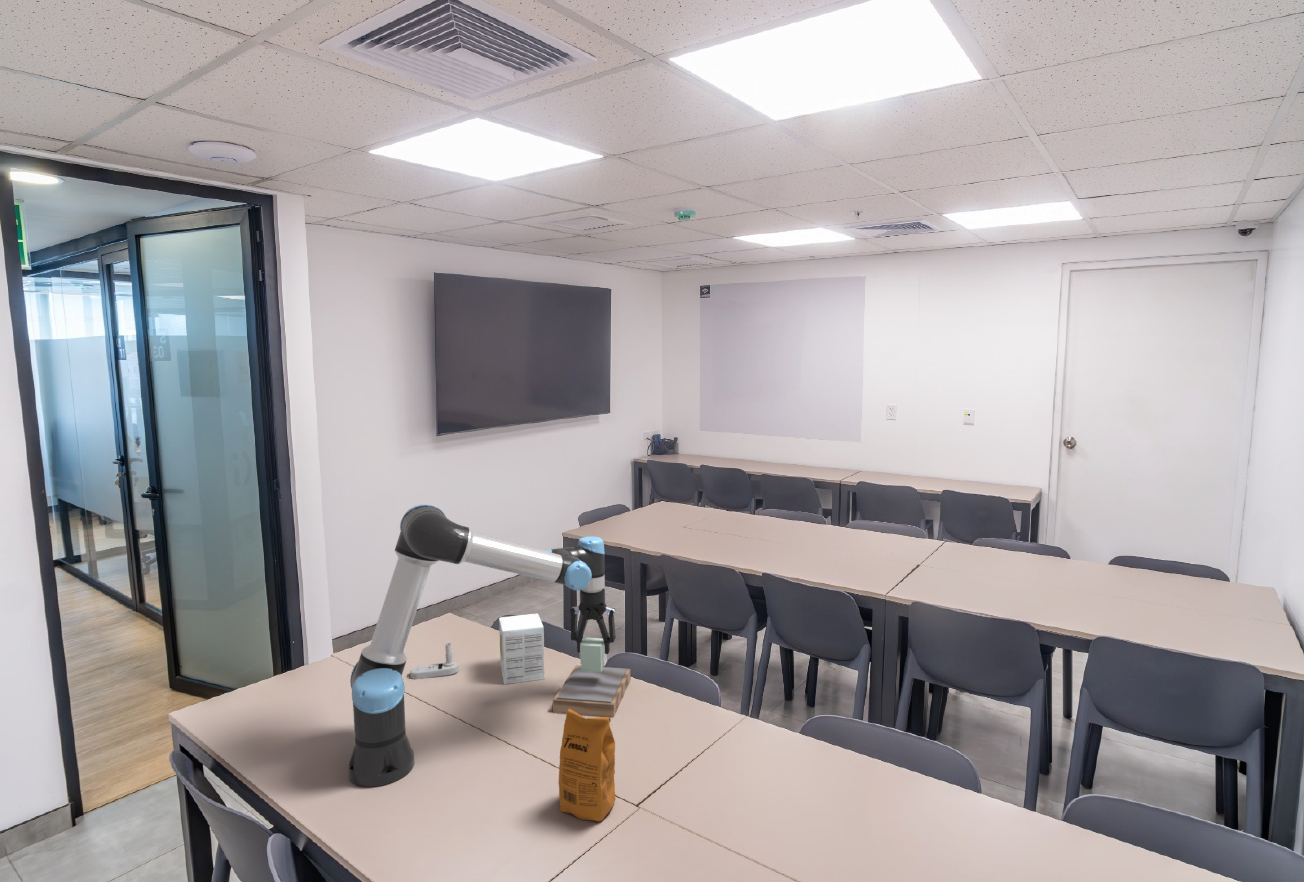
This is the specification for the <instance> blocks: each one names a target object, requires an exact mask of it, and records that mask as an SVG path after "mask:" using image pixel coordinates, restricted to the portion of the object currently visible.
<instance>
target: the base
mask: <svg viewBox="0 0 1304 882" xmlns="http://www.w3.org/2000/svg"><path fill="white" fill-rule="evenodd" d="M631 671H632V670H631V668H622V667H621V668H620V667H608V666H607V667H605V666H604V668H603V670H602V671H601V672H588V671H581V664H580V665H579V664H576V665H575V666H574V668H573V669H572V671H571V672H570V673H569V675H568V677H567V678H566V680H565V681H564V683H563V684H562V685H561V687H560V689H559V690H558V692H557V693H556V695H555V696H554V698H553V699H552V712H553V713H558V714H567V710H568V709H571V710H572V711H575V712H576V713H577V714H579V715H581V716H582V715H583V716H592V717H593V716H594V717H595V716H596V717H610V718H615V716H616V713H617V711H618V709H619V707H620V705H621V702H622V700H623V698H624V695H625V693H626V691H627V689H628V686H630V685H629V684H630V682H631V679H632V678H631V677H632V675H631Z"/></svg>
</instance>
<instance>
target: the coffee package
mask: <svg viewBox="0 0 1304 882" xmlns="http://www.w3.org/2000/svg"><path fill="white" fill-rule="evenodd" d="M565 716H566V717H565V720H564V725H563V732H562V733H563V734H562V739H561V746H560V750H559V751H560V752H559V766H558V767H559V768H558V797H559V799H558V800H559V812H561V813H566V814H572V815H573V816H575V817H576V818H578V819H579V820H582V821H594V822H601V821H604V820H605V817H606V816H607V815H608V814H609V812H610V811H611V810H612V809H613V806H614V805H615V801H616V785H615V773H616V770H615V768H616V767H615V765H616V754H615V753H616V740H615V738H614V735H613V732H612V729H611V725H610V724H611V720H612V719H611V717H605V716H599V717H587V718H586V717H584V716H582V715H581V714H577V713H576V712H575V711H572V710H571V709H568V710H567V713H565Z"/></svg>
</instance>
